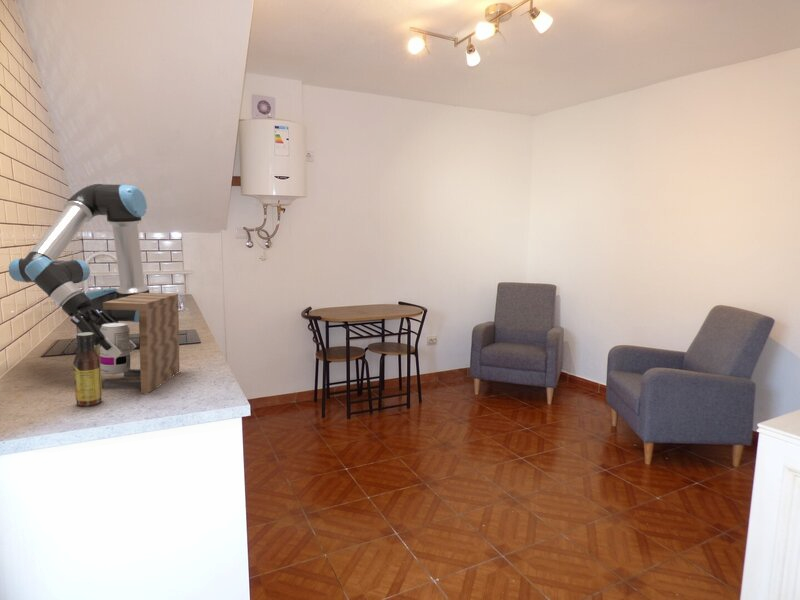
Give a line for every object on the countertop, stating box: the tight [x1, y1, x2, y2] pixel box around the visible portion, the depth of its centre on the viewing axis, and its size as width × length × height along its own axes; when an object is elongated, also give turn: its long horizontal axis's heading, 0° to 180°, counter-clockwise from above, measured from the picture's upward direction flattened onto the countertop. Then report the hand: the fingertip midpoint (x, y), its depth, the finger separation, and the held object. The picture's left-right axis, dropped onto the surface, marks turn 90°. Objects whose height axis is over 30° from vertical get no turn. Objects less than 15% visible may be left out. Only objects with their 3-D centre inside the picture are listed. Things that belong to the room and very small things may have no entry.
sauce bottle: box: [72, 332, 103, 407], centre depth 137 cm, size 7×6×20 cm
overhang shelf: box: [102, 292, 181, 394], centre depth 157 cm, size 24×16×27 cm, turn 3°
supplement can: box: [100, 322, 131, 375], centre depth 157 cm, size 8×8×15 cm
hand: (126, 352), depth 157 cm, fingers closed on supplement can, 8 cm apart
